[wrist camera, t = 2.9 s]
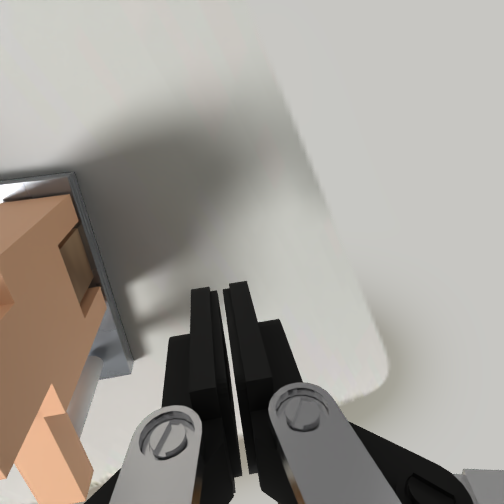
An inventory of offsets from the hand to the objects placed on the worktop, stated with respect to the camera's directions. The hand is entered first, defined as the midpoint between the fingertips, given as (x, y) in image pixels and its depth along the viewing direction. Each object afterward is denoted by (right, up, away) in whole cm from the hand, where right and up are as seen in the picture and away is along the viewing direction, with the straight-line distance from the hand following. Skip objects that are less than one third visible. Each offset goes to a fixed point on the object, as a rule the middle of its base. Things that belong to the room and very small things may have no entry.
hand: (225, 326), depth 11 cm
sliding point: (-8, 0, +6) cm, 10 cm away
